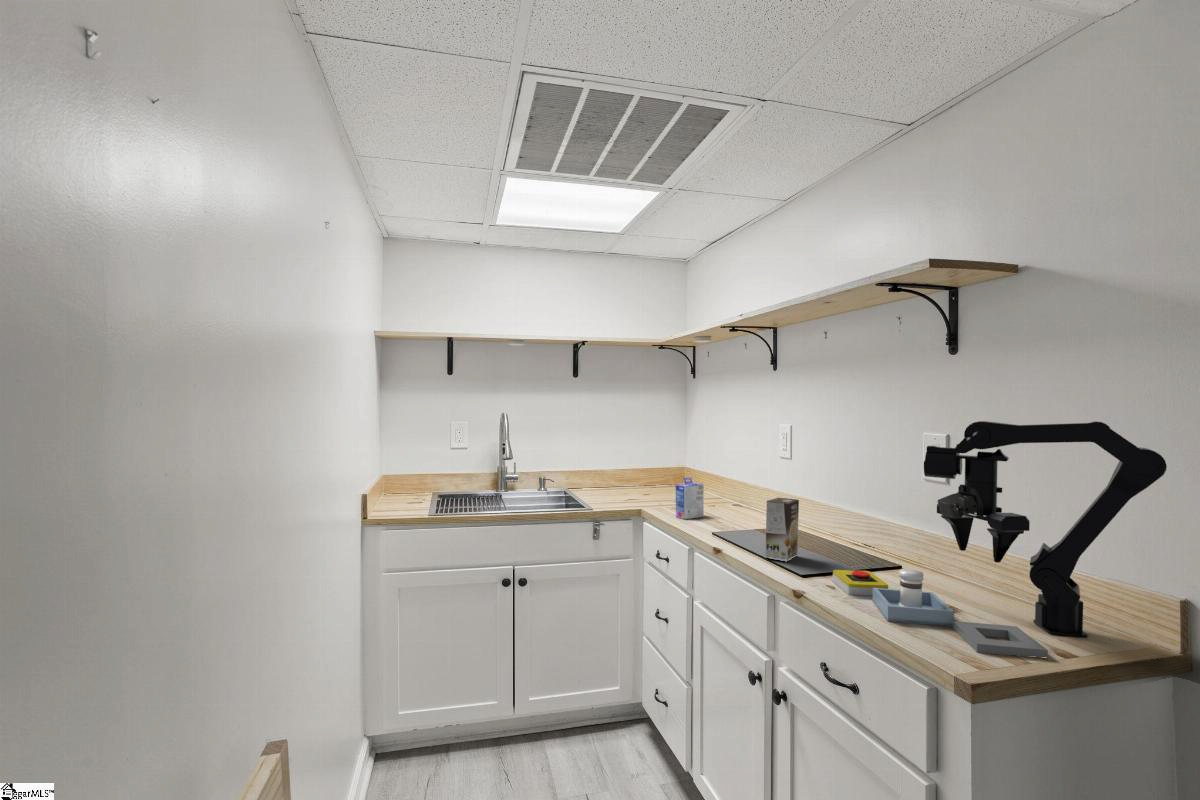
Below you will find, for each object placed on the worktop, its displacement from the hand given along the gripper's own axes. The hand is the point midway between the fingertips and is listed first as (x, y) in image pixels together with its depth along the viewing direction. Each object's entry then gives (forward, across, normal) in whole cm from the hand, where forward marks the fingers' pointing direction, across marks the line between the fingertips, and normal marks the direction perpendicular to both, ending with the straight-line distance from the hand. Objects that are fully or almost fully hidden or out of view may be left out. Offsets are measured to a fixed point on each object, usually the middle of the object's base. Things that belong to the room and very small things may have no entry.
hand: (979, 556), depth 123 cm
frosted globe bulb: (+11, -2, -14) cm, 18 cm away
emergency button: (+13, -18, -16) cm, 27 cm away
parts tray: (+12, -2, -14) cm, 19 cm away
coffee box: (+12, -45, -22) cm, 52 cm away
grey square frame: (+12, +14, -8) cm, 20 cm away
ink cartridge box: (+12, -102, -31) cm, 107 cm away
